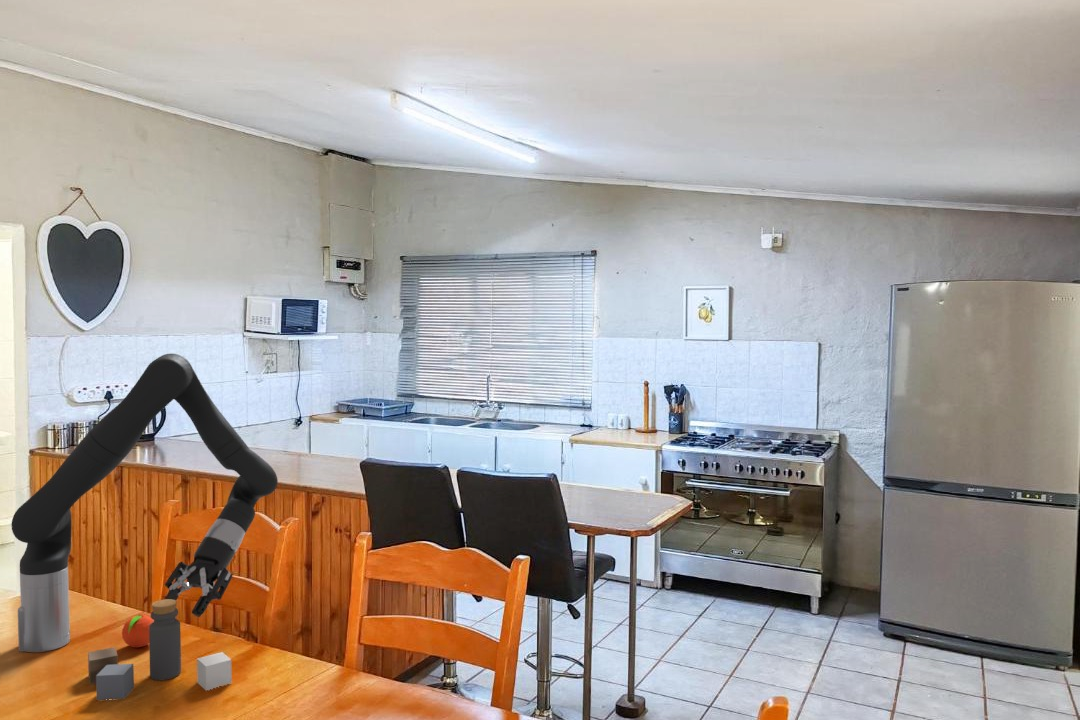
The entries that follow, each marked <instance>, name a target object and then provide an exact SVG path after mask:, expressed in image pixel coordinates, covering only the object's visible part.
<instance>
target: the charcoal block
mask: <svg viewBox="0 0 1080 720" xmlns="http://www.w3.org/2000/svg"><path fill="white" fill-rule="evenodd" d="M134 669H135V668H134V663H120V664H119V663H118V664H115V665H106V666H105V667H104V668H103V669H102V670H101V671H100V672H99V673H98V674H97V675H96V684H95V686H96V687H95V688H96V691H95V692H96V701H97V700H105V701H110V700H109V699H112V700H111V701H114V700H113V699H124V700H125V699H126V698H127V697H128V696H129V695H130V694H131V692H132V691H133V690H134V688H135V683H134V682H135V679H134V678H135V674H134V671H135V670H134ZM127 695H128V696H127ZM126 696H127V697H126ZM106 699H107V700H106Z"/></svg>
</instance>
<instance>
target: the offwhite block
mask: <svg viewBox="0 0 1080 720" xmlns="http://www.w3.org/2000/svg"><path fill="white" fill-rule="evenodd" d="M196 667H197V668H196V670H197V674H196V676H197V677H196V679H197V681H196V682H197V684H198V685H200V687H201V688H202V689H203V690H205V691H206V692H208V691H211V690H214V689H213V688H215V689H217V688H216V687H218V688H220V687H219V686H222V685H225V686H227V685H226V684H229V685H231V684H230V683H232V659H231V657H229V656H227V655H226V654H225V653H224V652H223V651H220V652H217V653H212V654H209V655H205V656H202V657H198V658H196ZM222 687H223V686H222ZM210 689H211V690H210ZM207 690H208V691H207Z"/></svg>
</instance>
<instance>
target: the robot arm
mask: <svg viewBox="0 0 1080 720" xmlns="http://www.w3.org/2000/svg"><path fill="white" fill-rule="evenodd" d="M172 401H175V402H176V403H178V405H179V406H181V408H182V409H183V410H184V411H185V413H186V415H187V416H188V418H189V419H190V421H191V422H192V424H193V425H194V427H195V429H196V431H197V433H198V435H199V437H200V438H201V440H202V442H203V443H204V445H205V446H206V448H207V449H208V451H210V453H211V454H212V455H213V456H214V457H215V459H216V460H217V461H218V463H219V464H220V465H221V466H222V467H223V468H224V469H225V470H230V471H234V472H235V473H237V474H238V475H239V476H238V477H237V479H236V480H235V482H234V484H233V486H232V488H231V490H230V493H229V495H228V497H227V501H226V504H225V505H224V507H223V509H222V510H221V512H220V513H219V515H218V517H217V519H216V520H215V521H214V523H212V525H211V526H210V528H209V529H208V531H207V533H206V534H205V536H204V538H202V540H201V542H200V544H199V545H198V547H197V548H196V551H195V552H194V554H193V561H192V563H190V564H189V565H188V564H186V563H185V562H183V561H179V562H178V563H177V565H176V566H175V568H174V569H173V570H172V573H170V575H169V576H168V579H167V580H166V581H165V582H164V586H165V587H166V588H167V589H168V592H167V594H166V596H165V597H164V599H173V600H176V601H177V599H178V598H179V597H180V596H179V595H181V594H182V593H183V592H184V591H188V590H190V589H192V588H200V589H201V590H202V596H199V598H198V599H197V602H196V603H195V605H194V606H193V609H191V614H192V615H193V616H194V617H198V618H200V617H201V616H202V615H203V614H204V613H205V611H206V609H207V608H208V606H209V604H210V602H212V601H214V600H218V601H220V600H221V599H222V597H223V596H224V594H225V592H226V591H227V588H228V586H229V584H230V582H231V581H232V578H233V574H232V573H231V572H230V571H229V570H228V567H229V565H230V563H231V561H232V560H233V558H234V556H235V554H236V553H237V551H238V550H239V548H240V546H241V544H242V542H243V539H244V538H245V536H246V533H247V531H248V530H249V528H250V526H251V524H252V523H253V521H254V518H255V516H256V511H255V506H256V505H257V502H258V501H259V500H260V498H263V497H266V496H269V495H272V493H274V492H275V491H276V489H277V487H278V484H279V483H278V482H279V481H278V480H279V479H278V475H277V474H276V471H275V470H274V469H273V467H272V466H271V465H270V464H269V463H268V462H267V461H266V460H265V459H263V458H262V457H261V456H260V455H259V454H258V453H256V452H255V451H253V450H252V449H250V448H249V446H248V445H247V443H246V442H245V441H244V440H243V438H242V437H241V436H240V435H239V433H238V432H237V431H236V430H235V428H233V426H232V424H231V423H229V421H228V420H227V418H225V416H224V415H223V413H222V412H221V411H220V410H219V409H218V407H217V406H216V404H215V403H214V402H213V400H212V399H211V397H210V395H209V394H208V393H207V391H206V389H205V388H204V387H203V384H202V383H201V381H200V379H199V377H198V375H197V374H196V372H195V370H194V368H193V366H192V364H191V362H190V361H189V360H188V359H187V358H185V357H184V356H182V355H180V354H177V353H166V354H163V355H161V356H159V357H156V358H155V359H154V360H151V362H150V363H149V364H148V365H147V367H146V368H145V370H144V372H143V373H142V374H141V375H140V377H139V379H138V380H137V381H136V383H135V384H134V386H133V387H132V388H131V390H130V391H129V392H128V393H127V395H126V396H125V397H124V398H123V399H122V401H120V403H118V404H117V405H116V406H115V407H113V409H111V410H110V411H109V412H108V413H107V414H106V415H104V416H103V418H101V419H100V420H99V421H98V422H97V424H95V425H94V426H93V427H92V428H91V429H90V431H89V432H88V433H86V435H85V436H84V437H83V438H82V439H81V441H80V442H79V443H78V444H77V445H76V447H75V448H74V449H73V450H72V452H71V453H70V454H69V455H68V456H67V457H66V459H64V461H62V463H61V465H60V466H59V467H58V469H57V470H56V471H55V472H54V474H52V476H51V478H50V479H49V480H48V481H47V482H46V483H45V484H44V485H42V486H41V487H40V488H39V489H38V490H37V491H36V492H35V493H34V494H33V495H31V497H30V498H28V500H26V501H25V502H24V503H22V504H21V505H20V506H19V507H18V508H17V510H16V511H15V513H14V515H13V516H12V519H11V531H12V534H13V536H14V537H15V538H16V540H18V541H20V542H22V543H25V544H26V548H25V551H24V552H23V554H22V556H21V558H20V560H19V588H20V590H19V591H20V606H19V607H18V608H17V633H18V634H17V635H18V640H17V641H18V652H19V653H21V652H26V653H43V652H49V651H53V650H57V649H59V648H62V647H64V646H66V645H68V644H69V643H70V641H71V635H70V634H71V629H70V597H69V595H70V593H69V591H70V590H69V556H70V554H71V549H72V530H73V529H72V525H73V524H72V523H73V522H72V513H71V508H72V507H73V506H74V505H75V504H76V503H77V502H78V501H79V499H80V498H82V497H83V496H84V495H85V494H86V493H88V492H89V491H91V490H92V489H93V488H94V487H95V486H96V485H98V484H99V483H100V482H102V481H103V480H104V479H105V478H106V477H107V476H109V475H110V474H111V473H112V472H113V471H114V470H115V469H116V468H117V467H118V466H119V465H120V464H121V463H122V461H123V460H124V459H125V458H126V457H127V455H129V453H130V452H131V451H132V450H133V449H134V447H135V446H136V445H137V443H138V441H139V440H140V438H141V437H142V436H143V434H144V433H145V431H146V430H147V427H148V426H149V424H150V423H151V422H152V421H153V420H154V418H155V417H156V416H158V414H159V413H161V412H162V410H164V409H165V407H167V406H168V405H169V404H170V403H171V402H172Z"/></svg>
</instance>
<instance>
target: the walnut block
mask: <svg viewBox="0 0 1080 720" xmlns="http://www.w3.org/2000/svg"><path fill="white" fill-rule="evenodd" d="M87 659H88V660H87V663H88V680H89V685H90V686H92V684H93V685H96V675H97V674H98V673H99V672H100V671H101V670H102V669H103V668H104V667H105V666H106V665H115V664H119V660H118V659H119V658H118V653H117V647H116V646H114V647H110V648H109V647H108V648H104V649H98V650H93V651H88V652H87Z"/></svg>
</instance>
